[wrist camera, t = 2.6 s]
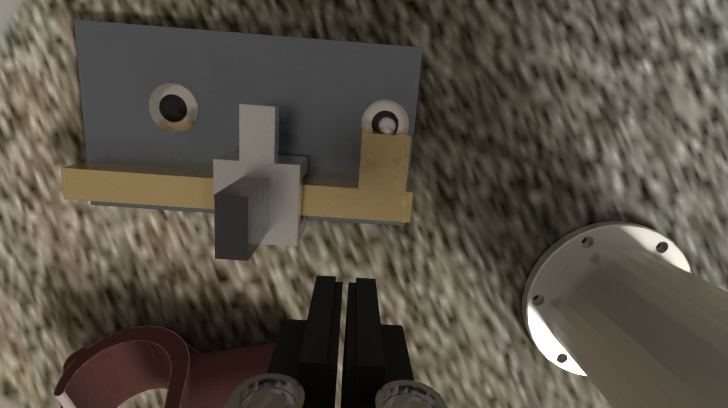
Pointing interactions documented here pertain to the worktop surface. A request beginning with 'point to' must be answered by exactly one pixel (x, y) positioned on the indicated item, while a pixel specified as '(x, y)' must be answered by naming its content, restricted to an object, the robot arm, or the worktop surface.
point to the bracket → (156, 370)
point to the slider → (257, 189)
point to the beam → (319, 196)
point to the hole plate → (237, 97)
